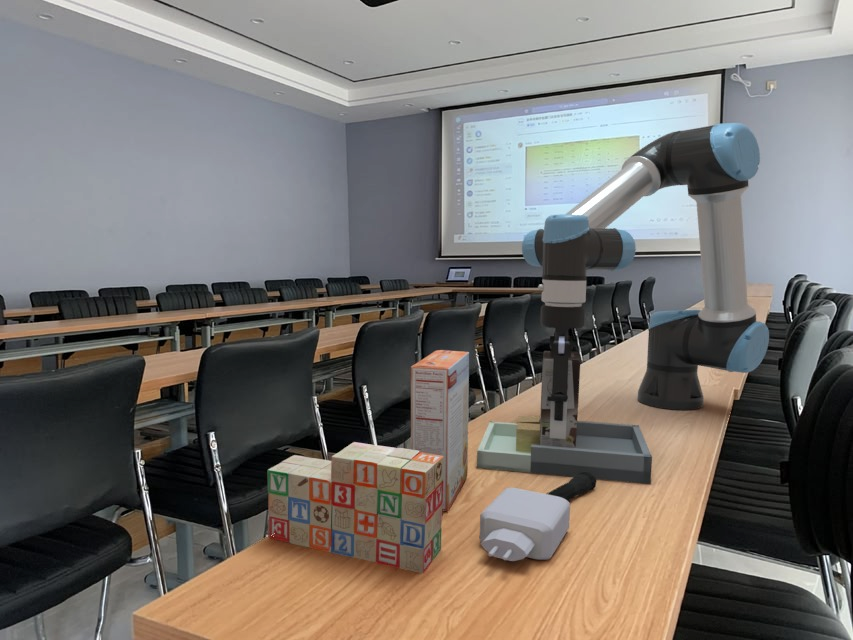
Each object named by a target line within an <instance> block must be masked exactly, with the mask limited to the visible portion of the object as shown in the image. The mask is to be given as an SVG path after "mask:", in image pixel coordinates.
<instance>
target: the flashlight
mask: <svg viewBox="0 0 853 640" xmlns="http://www.w3.org/2000/svg"><path fill="white" fill-rule="evenodd" d="M596 486H597V479H596V478H595V476H594V475H593V474H592V473H590V472H587V471H585V472H582V473H580V474H578V475H577V476H575V477H571V479H570V480H569V481H568V482H565V483H563V484H562V485H560V486H558V487H556V488H554V489H552V490H550V491H549V492H547V493H545V494H548V495H553V496H558V497H562V498H564V499H566V500H567V501H568V502H569V501H570V500H572V499H574V498H575V497H577V496H581V495H584V494H586V493H588V492H591V491H593V490H594V489H595V488H596Z"/></svg>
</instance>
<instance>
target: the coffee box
mask: <svg viewBox="0 0 853 640" xmlns="http://www.w3.org/2000/svg"><path fill="white" fill-rule="evenodd" d="M542 356H543V357H542V369H541V370H542V371H541V392H540V394H541V395H540V399H541V400H540V445H543V446H555V447H567V448H576V434H577V421H578V416H579V415H578V413H579V397H580V395H579V394H580V380H581V379H580V377H581V361H582V360H581V358H580V353H579V351H575V350H574V351H573V350H571V358H568V383H567V396H568V399H567V420H566V439H558V438H550V412H551V401H547V396H549V397H551V395H552V385H553V360H554V358H551V350H544V351H543V355H542ZM556 393H563V392H556Z"/></svg>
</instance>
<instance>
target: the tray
mask: <svg viewBox="0 0 853 640" xmlns="http://www.w3.org/2000/svg"><path fill="white" fill-rule="evenodd" d="M516 429H517V422H515V423H514V422H502V421H489V423H488V425H487V428H486V429H485V432H484V435H483V437H482V438H481V441H480V443H479V445H478V448H477V450H476V469H486V470H487V469H488V470H497V471H507V472H516V473H517V472H518V473H527V474H531V473H530V467H531V452H518V451H516Z"/></svg>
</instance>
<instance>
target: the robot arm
mask: <svg viewBox="0 0 853 640" xmlns="http://www.w3.org/2000/svg"><path fill="white" fill-rule="evenodd" d="M760 155H761V153H760V148H759V143H758V141H757V138H756V136H755V134H754V133H753V131H752V130H751V129H750V128H749V127H748V126H747V125H745V124H744V123H740V122H728V123H727V122H726V123H718V124H713V125H709V126H701V127H695V128H690V129H684V130H678V131H672V132H669V133H667V134H664V135H662V136H660V137H658V138H657V139H654V140H653V141H652V142H650V143H648V144H647V145H645V146H644V147H642V148H641V149H639V150H638V151H636V152H635V153H633V154H632V155H631V156H630V157H628V158H627V159H626V160H625V161H624V162H623V164H622V166H621V169H620V171H618V172H617V173H615V175H612V177H611V178H609V179H608V180H607V181H606V182H604V183H603V184H601V185H600V186H599V187H598V188H596V190H594V191H592V193H589V194H588V196H587V197H586V198H585V197H584V198H583V200H582V201H580V202H579V203H578V204H576V205H575V206H573V208H572V209H570V210H568V211H567V213H565V214H563V213H562V214H551V215H549V216H547V217H546V218H545V220H544V228H539V229H535V230H530V231H529V232H528V233H526V235H525V236H524V238H523V240H522V243H521V244H522V245H521V253H522V256H523V258H524V260H525V262H526V263H527V264H528V265H530V266H532V267H538V268H539V267H541V268H542V275H541V278H542V280H541V281H542V283H541V284H538V286H537V289H538V290H540V291H542V292H541V302H543V303H544V304H542V306H541V307H540V322H539V323H540V325H541V326H542V327H544V328H552V329H555V330H554V333H553V335H550V337H549V348H550V351H551V358H554V360H553V385H552V395H551V397H549V396H547V401H551V412H550V438H558V439H566V420H567V399H568V396H567V383H568V358H571V351H573V349H574V348H573V346H574V337H573V336H570V333H569V331H570V329H573V330H575V329H581V328H583V327H584V326H585V318H586V317H585V316H586V315H585V314H586V312H585V311H586V308H585V307H584V306H583V304H584V303H586V300H587V294H586V293H587V272H588V270H589V271H591V270H592V271H611V272H613V271H615V270H622V269H624V268H627V267H628V266H629V265H630V264H631V263H632V262H633V260H634V258H635V255H636V250H637V249H636V241H635V239H634V237H633V235H631V234H630V232H628V231H626V230H625V229H624V230H623V229H618V228H615V227H613V228H608V226H610V225H611V224H612V223H613V222H614V221H616V220H617V219H618V218H619V217H621V216H622V215H623V214H624V213H626V211H628V210H629V209H630V208H631V207H633V206H634V205H635V204H636V203H637V202H638V201H640V200H641V199H643V197H649V196H652V195H653V194H655V193H656V192H657V191H659V190H661V189H664V188H669V187H674V186H686V187H687V195H688V197H690V198H691V199H693V200H694V201H695V202H696V211H697V212H696V213H697V226H698V236H699V237H698V238H699V239H698V240H699V250H700V251H699V252H700V263H701V272H702V273H701V277H702V291H703V300H704V301H703V302H704V307H702V309H677V310H662V311H661V310H660V311H655V312H653V313H651V315H650V317H649V324H648V325H649V326H648V330H647V331H648V336H647V337H648V338H647V340H648V341H647V356H646V357H647V358H646V359H647V360H646V371H645V373H644V375H643V378H642V381H641V383H640V385H639V388H638V390H637V401H638V402H640V403H642V404H644V405H647V406H650V407H656V408H660V409H669V410H677V411H678V410H681V411H682V410H683V411H684V410H685V411H686V410H687V411H688V410H698V409H701V408H702V407H703V406H704V393H703V390H702V386H701V383H700V379H699V376H698V370H699V369H698V368H699V367H698V366H700V367H705V368H711V369H716V370H721V371H726V372H729V373H734V372H735V373H742V374H744V373H746V374H747V373H752V372H753V371H755V369H757V368H758V367H759V365H760V364H761V363H762V361H763V359H764V358H765V356H766V354H767V350H768V347H769V344H770V343H769V342H770V331H769V328H768V326H767V325H766V323H764V322H763V321H759V320H758V321H757V311H756V309H755V308H754V307H752V306H751V305H750V304H748V291H747V289H748V288H747V273H746V258H745V241H744V225H743V210H742V209H743V208H742V195H743V194H744V192H745V191H746V190H747V189H748V188H749V180H751V179H753V178H754V177H755V176H756V174H757V173H758V170H759V165H760V163H761V157H760ZM556 392H563V393H556Z"/></svg>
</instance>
